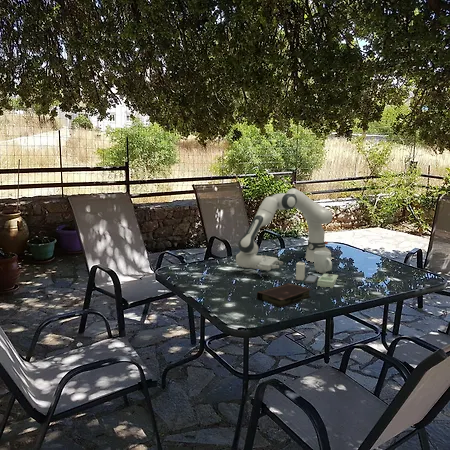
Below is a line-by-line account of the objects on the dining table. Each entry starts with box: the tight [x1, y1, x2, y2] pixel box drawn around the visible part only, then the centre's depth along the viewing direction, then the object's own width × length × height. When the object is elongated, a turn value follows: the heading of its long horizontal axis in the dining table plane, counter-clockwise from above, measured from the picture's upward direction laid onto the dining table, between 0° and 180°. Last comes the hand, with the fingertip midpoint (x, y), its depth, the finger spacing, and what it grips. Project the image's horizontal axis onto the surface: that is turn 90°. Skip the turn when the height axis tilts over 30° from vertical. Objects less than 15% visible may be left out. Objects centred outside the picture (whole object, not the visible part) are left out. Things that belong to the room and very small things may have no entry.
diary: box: [256, 282, 313, 308], centre depth 241 cm, size 19×25×5 cm
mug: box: [313, 251, 333, 274], centre depth 289 cm, size 15×11×13 cm
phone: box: [303, 274, 319, 285], centre depth 273 cm, size 13×6×1 cm, turn 158°
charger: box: [295, 261, 306, 281], centre depth 275 cm, size 4×4×11 cm
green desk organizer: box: [316, 273, 339, 289], centre depth 270 cm, size 22×9×4 cm, turn 158°
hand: (281, 265), depth 279 cm, fingers open, 8 cm apart
